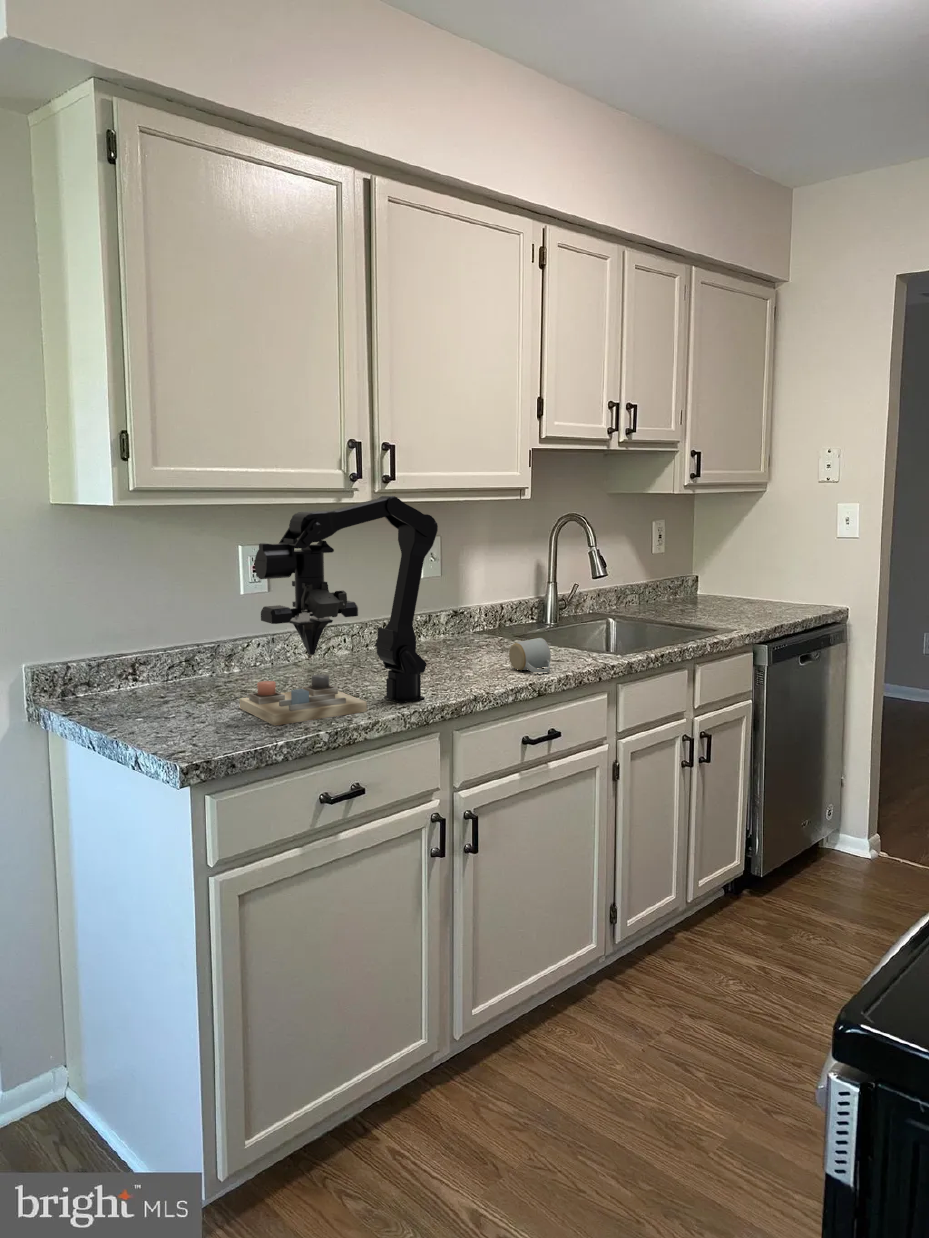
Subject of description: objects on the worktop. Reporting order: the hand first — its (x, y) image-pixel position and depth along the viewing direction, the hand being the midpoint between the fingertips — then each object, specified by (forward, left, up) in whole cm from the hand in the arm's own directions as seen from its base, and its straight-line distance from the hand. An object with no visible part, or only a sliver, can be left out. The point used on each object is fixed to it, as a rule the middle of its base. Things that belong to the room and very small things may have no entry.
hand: (311, 654), depth 191 cm
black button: (-6, -7, -8) cm, 13 cm away
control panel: (0, -4, -12) cm, 12 cm away
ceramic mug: (-64, -9, -12) cm, 66 cm away
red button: (+6, -8, -8) cm, 13 cm away
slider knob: (+3, +1, -10) cm, 10 cm away
